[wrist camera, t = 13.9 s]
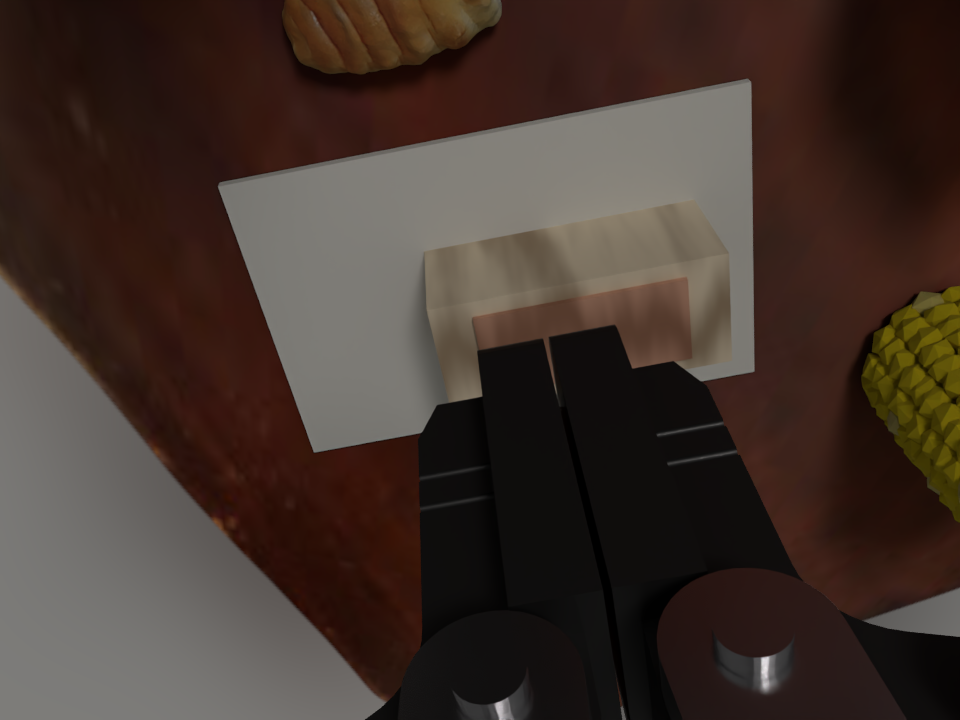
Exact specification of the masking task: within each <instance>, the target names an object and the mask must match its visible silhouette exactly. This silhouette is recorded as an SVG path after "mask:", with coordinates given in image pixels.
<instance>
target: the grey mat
mask: <svg viewBox="0 0 960 720" xmlns="http://www.w3.org/2000/svg"><path fill="white" fill-rule="evenodd" d="M218 188H219V191H220V194H221V197H222V199H223V202H224V205H225V208H226V210H227V213H228V216H229V219H230V221H231V224H232V227H233V230H234V233H235V235H236V238H237V241H238V244H239V246H240V249H241V252H242V255H243V257H244V260H245V263H246V266H247V268H248V271H249V274H250V277H251V280H252V282H253V285H254V288H255V291H256V293H257V296H258V299H259V302H260V304H261V307H262V310H263V313H264V316H265V318H266V321H267V324H268V327H269V329H270V332H271V335H272V338H273V340H274V343H275V346H276V349H277V351H278V354H279V357H280V360H281V363H282V365H283V368H284V371H285V374H286V376H287V379H288V382H289V385H290V387H291V390H292V393H293V396H294V399H295V401H296V404H297V407H298V410H299V412H300V415H301V418H302V421H303V423H304V426H305V429H306V432H307V434H308V437H309V440H310V443H311V446H312V448H313V451H314V453H315V452H320V451H326V450H331V449H336V448H342V447H347V446H353V445H358V444H364V443H369V442H374V441H380V440H385V439H391V438H396V437H402V436H407V435H413V434H418V433H422V432H423V430H424V428H425V426H426V424H427V422H428V420H429V419H430V417H431V415H432V413H433V411H434V409H435V408H436V406H437V405H440V404H445V403H449V400H448V396H447V392H446V387H445V383H444V379H443V375H442V371H441V367H440V363H439V359H438V355H437V351H436V347H435V342H434V338H433V334H432V330H431V326H430V322H429V318H428V314H427V306H426V282H425V259H424V251H429V250H434V249H439V248H444V247H450V246H455V245H460V244H465V243H470V242H476V241H481V240H486V239H491V238H496V237H502V236H507V235H512V234H517V233H523V232H528V231H533V230H538V229H543V228H549V227H554V226H559V225H564V224H569V223H575V222H580V221H585V220H590V219H596V218H601V217H606V216H611V215H616V214H622V213H627V212H632V211H637V210H642V209H648V208H653V207H658V206H663V205H668V204H674V203H679V202H684V201H689V200H695V201H696V203H697V204H698V206H699V208H700V209H701V211H702V212H703V214H704V215H705V217H706V218H707V220H708V221H709V223H710V225H711V226H712V228H713V229H714V231H715V232H716V234H717V235H718V237H719V238H720V240H721V242H722V243H723V245H724V246H725V248H726V249H727V251H728V252H729V269H730V305H731V341H732V361H729V362H723V363H718V364H712V365H707V366H701V367H696V368H691V369H685V370H686V371H688V372H689V373H690V374H692V375H693V376H694V377H696V378H697V379H698V380H700V381H706V380H712V379H717V378H722V377H728V376H733V375H739V374H744V373H750V372H754V296H753V208H752V119H751V81H750V80H749V79H744V80H739V81H734V82H729V83H724V84H719V85H713V86H708V87H703V88H698V89H693V90H688V91H683V92H678V93H673V94H668V95H663V96H657V97H652V98H647V99H642V100H637V101H632V102H627V103H622V104H617V105H612V106H607V107H602V108H596V109H591V110H586V111H581V112H576V113H571V114H566V115H561V116H556V117H551V118H546V119H541V120H535V121H530V122H525V123H520V124H515V125H510V126H505V127H500V128H495V129H490V130H485V131H479V132H474V133H469V134H464V135H459V136H454V137H449V138H444V139H439V140H434V141H429V142H424V143H418V144H413V145H408V146H403V147H398V148H393V149H388V150H383V151H378V152H373V153H368V154H362V155H357V156H352V157H347V158H342V159H337V160H332V161H327V162H322V163H317V164H312V165H307V166H301V167H296V168H291V169H286V170H281V171H276V172H271V173H266V174H261V175H256V176H251V177H246V178H240V179H235V180H230V181H225V182H220V183H219V185H218ZM556 394H557V393H556ZM557 399H558V398H557Z"/></svg>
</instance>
